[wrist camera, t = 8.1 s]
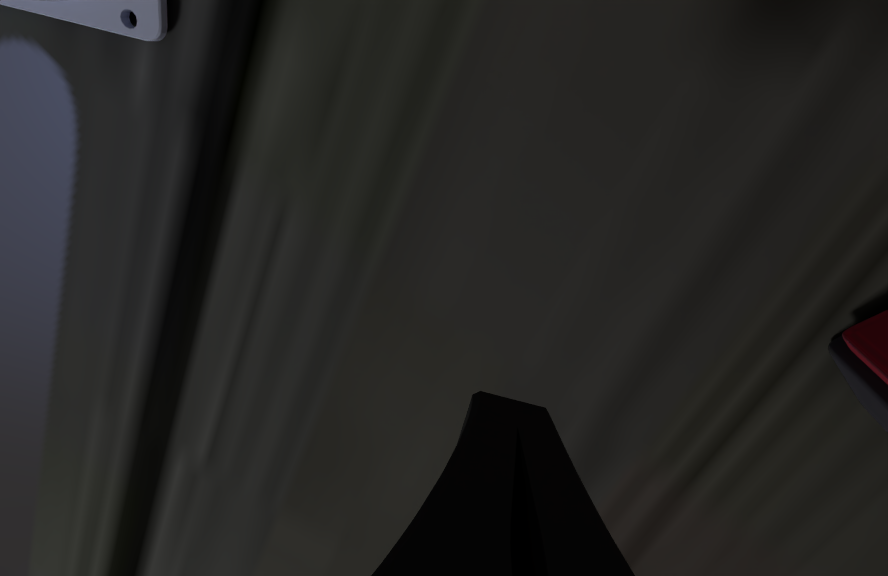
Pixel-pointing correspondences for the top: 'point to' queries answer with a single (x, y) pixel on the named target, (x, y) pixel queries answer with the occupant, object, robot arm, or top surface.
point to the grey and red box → (866, 363)
